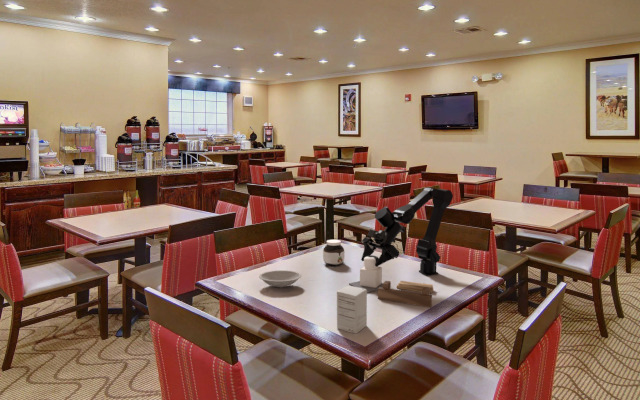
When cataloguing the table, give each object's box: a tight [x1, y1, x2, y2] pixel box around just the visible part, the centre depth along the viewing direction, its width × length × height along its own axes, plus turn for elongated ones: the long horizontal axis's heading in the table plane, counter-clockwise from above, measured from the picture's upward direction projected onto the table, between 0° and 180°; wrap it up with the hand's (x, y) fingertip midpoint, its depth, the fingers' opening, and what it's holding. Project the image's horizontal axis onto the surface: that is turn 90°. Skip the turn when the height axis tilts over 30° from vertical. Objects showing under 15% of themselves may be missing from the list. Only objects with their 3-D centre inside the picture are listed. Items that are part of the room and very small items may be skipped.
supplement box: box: [336, 284, 368, 334], centre depth 139 cm, size 7×7×13 cm
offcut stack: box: [396, 280, 434, 294], centre depth 175 cm, size 4×14×2 cm, turn 63°
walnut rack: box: [377, 280, 433, 308], centre depth 162 cm, size 4×20×6 cm, turn 63°
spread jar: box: [322, 239, 345, 267], centre depth 212 cm, size 12×11×12 cm
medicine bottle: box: [359, 254, 383, 288], centre depth 178 cm, size 7×7×12 cm
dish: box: [258, 270, 302, 288], centre depth 178 cm, size 18×14×5 cm
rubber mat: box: [348, 280, 384, 294], centre depth 179 cm, size 12×12×1 cm
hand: (368, 263), depth 177 cm, fingers open, 9 cm apart
